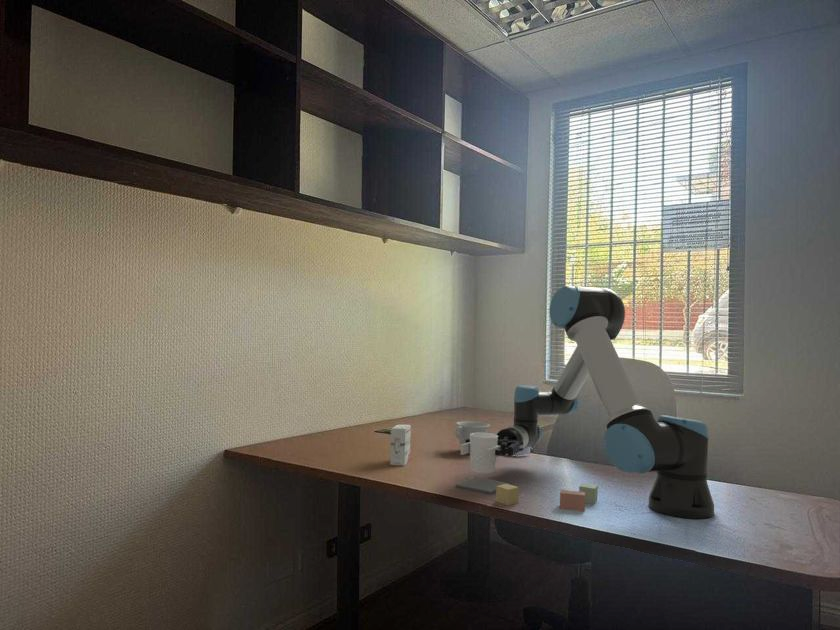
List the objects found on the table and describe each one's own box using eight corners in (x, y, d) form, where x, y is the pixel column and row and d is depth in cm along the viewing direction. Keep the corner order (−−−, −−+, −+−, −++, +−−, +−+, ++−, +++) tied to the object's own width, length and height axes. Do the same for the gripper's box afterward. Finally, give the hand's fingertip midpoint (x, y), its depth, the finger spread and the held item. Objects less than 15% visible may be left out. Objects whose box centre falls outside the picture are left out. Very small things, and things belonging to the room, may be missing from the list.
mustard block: (518, 502, 151) (518, 487, 151) (507, 505, 149) (508, 489, 149) (506, 499, 154) (506, 483, 154) (496, 501, 152) (496, 486, 152)
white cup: (463, 468, 168) (465, 432, 168) (488, 466, 171) (489, 431, 171) (476, 475, 161) (477, 438, 161) (502, 473, 164) (503, 437, 164)
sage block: (597, 500, 156) (597, 485, 156) (594, 504, 152) (595, 488, 152) (581, 497, 157) (582, 482, 157) (579, 501, 154) (579, 486, 154)
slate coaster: (509, 485, 167) (509, 483, 167) (491, 494, 158) (491, 491, 158) (475, 478, 173) (475, 476, 173) (455, 486, 164) (455, 484, 164)
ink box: (396, 459, 196) (397, 423, 196) (410, 460, 195) (411, 424, 195) (389, 465, 187) (390, 427, 187) (404, 466, 186) (405, 428, 186)
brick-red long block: (584, 508, 149) (584, 492, 149) (584, 511, 146) (585, 495, 146) (559, 505, 150) (560, 489, 150) (559, 509, 147) (560, 492, 147)
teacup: (442, 452, 208) (443, 423, 209) (469, 446, 219) (470, 419, 219) (469, 458, 200) (470, 428, 200) (495, 452, 211) (496, 424, 211)
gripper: (542, 457, 175) (508, 472, 156) (481, 447, 187) (442, 459, 168) (543, 431, 175) (508, 443, 156) (482, 423, 187) (443, 433, 168)
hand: (474, 452), depth 162 cm, fingers closed on white cup, 7 cm apart
